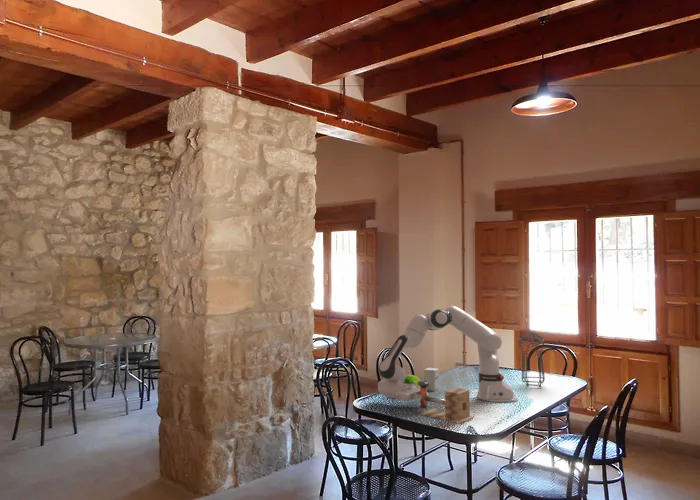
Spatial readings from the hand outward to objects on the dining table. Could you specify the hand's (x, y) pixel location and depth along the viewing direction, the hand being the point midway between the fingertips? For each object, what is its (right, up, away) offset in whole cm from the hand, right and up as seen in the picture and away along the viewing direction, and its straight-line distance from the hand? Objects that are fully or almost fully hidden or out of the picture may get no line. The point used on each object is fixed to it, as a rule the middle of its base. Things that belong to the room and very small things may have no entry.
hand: (424, 396), depth 267 cm
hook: (+4, -6, -4) cm, 8 cm away
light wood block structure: (+10, -8, -9) cm, 15 cm away
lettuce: (-3, -10, +38) cm, 39 cm away
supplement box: (+11, -10, +49) cm, 51 cm away
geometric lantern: (+76, -10, +55) cm, 95 cm away
